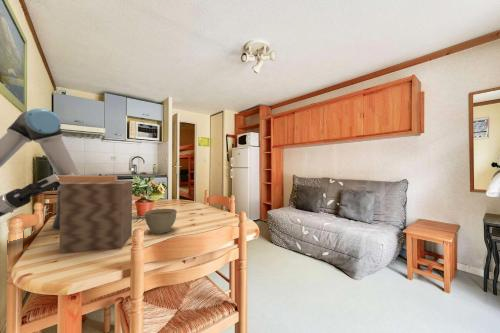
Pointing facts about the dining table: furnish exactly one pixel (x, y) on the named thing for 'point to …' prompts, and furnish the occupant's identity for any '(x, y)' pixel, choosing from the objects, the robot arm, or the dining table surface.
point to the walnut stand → (95, 215)
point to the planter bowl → (160, 220)
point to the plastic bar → (86, 178)
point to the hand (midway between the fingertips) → (65, 175)
